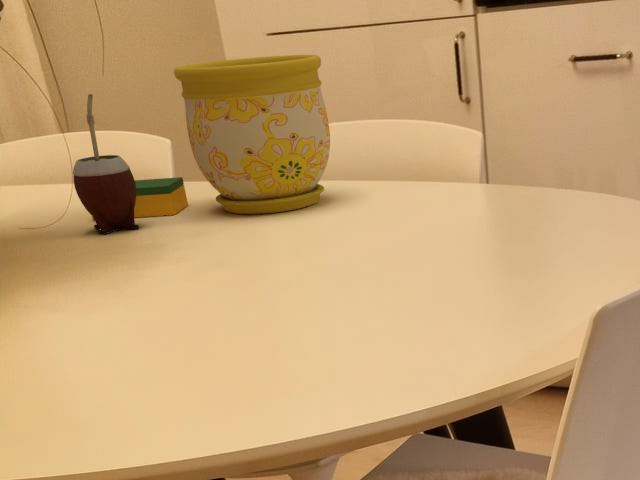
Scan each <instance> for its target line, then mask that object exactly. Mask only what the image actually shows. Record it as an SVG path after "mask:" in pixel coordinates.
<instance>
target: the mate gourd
mask: <svg viewBox="0 0 640 480" xmlns="http://www.w3.org/2000/svg"><path fill="white" fill-rule="evenodd" d="M93 98H94V95H93V93H88V95H87V103H86V116H85V117H86V123H87V125H88V128H89V135H90V140H91V144H92V150H93V151H92V152H93V156H89V157H88V156H87V157H83V158H79V159H76V161H75V164H74V165H73V169H72V175H73V176H72V177H73V185H74V189H75V192H76V195H77V198H78V199H79V200H80V202H81V204H82V205H83V207H84V208H85V210H86V211H87V212H88V213H89V214H90V216H91V217H92V216H93V218H94V220H93V221H94V223H95V224H94V225H93V227H94V230H95V229H101V230H97V232H98V234H99V235H100V234H103V235H106V234H105V233H107V234H109V233H108V232H110V233H112V232H111V231H113V230H116V229H126V230H125V231H137V230H139V224H136V221H135V219H136V218H134V207H135V204H136V183H135V177H134V175H133V173H132V171H131V167H130V166H129V165H128V163H127V162H126V161H125V159H123V157H121V156H120V155H117V154H110V155H109V154H108V155H107V154H106V155H100V153H99V147H98V142H97V136H96V129H95V116H94V114H93ZM93 218H92V219H93ZM116 231H117V230H116ZM113 232H114V231H113Z"/></svg>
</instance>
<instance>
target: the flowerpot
mask: <svg viewBox="0 0 640 480" xmlns="http://www.w3.org/2000/svg"><path fill="white" fill-rule="evenodd" d="M321 65H322V59H321V57H320V56H319V55H318V54H317V55H316V54H290V55H289V54H287V55H286V54H285V55H271V56H258V57H257V56H255V57H245V58H234V59H224V60H223V59H222V60H214V61H213V60H212V61H206V62H197V63H190V64H184V65H178V66H176V67H174V69H173V75H174V77H175V78H176V79H177V80H178V81H180V83H181V88H182V92H181V94H180V95H181V97H182V98H183V101H184V109H185V121H186V128H187V135H188V141H189V145H190V148H191V151H192V154H193V158H194V161H195V163H196V165H197V166H198V168H199V170H200V172H201V174H202V175H203V177H204V178H205V179H206V181H207V182H208V183H209V185H211V186H212V188H214V189H215V190H216V191H217V192H218V193H219V194H218V195H217V196H216V197H215V201H216V203H219V204H221V205H222V207H223V209H224V210H225V211H226V212H228V213H232V214H238V215H260V214H261V215H263V214H273V213H282V212H289V211H294V210H299V209H303V208H307V207H310V206H312V205H314V204H316V203H318V201H319V200H320V196H321V193H323V192H324V191H325V186H324V185H323V184H320V183H319V182H320V181H321V179H322V178H323V175H324V174H325V172H326V168H327V165H328V163H329V159H330V151H331V132H330V124H329V117H328V113H327V109H326V105H325V101H324V97H323V93H322V89H321V86H322V80H320V78H319V72H318V70H319V68H321ZM306 206H307V207H306Z"/></svg>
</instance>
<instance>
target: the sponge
mask: <svg viewBox="0 0 640 480" xmlns="http://www.w3.org/2000/svg"><path fill="white" fill-rule="evenodd" d="M134 180H135V179H134ZM135 183H136V204H135V207H134V219H136V218H149V217H150V218H151V217H162V216H163V217H164V215H166V216H175V215H176V214H178V213H179V212H181V211H182V210H183V209H185V208H187V207H188V205H189V201H188V197H187V192H186V188H185V183H184V178H183V177H182V176H179V177H165V178H152V179H151V178H149V179H136V180H135ZM91 217H92V221H95V220H94V218H93V216H92V215H91Z"/></svg>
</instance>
